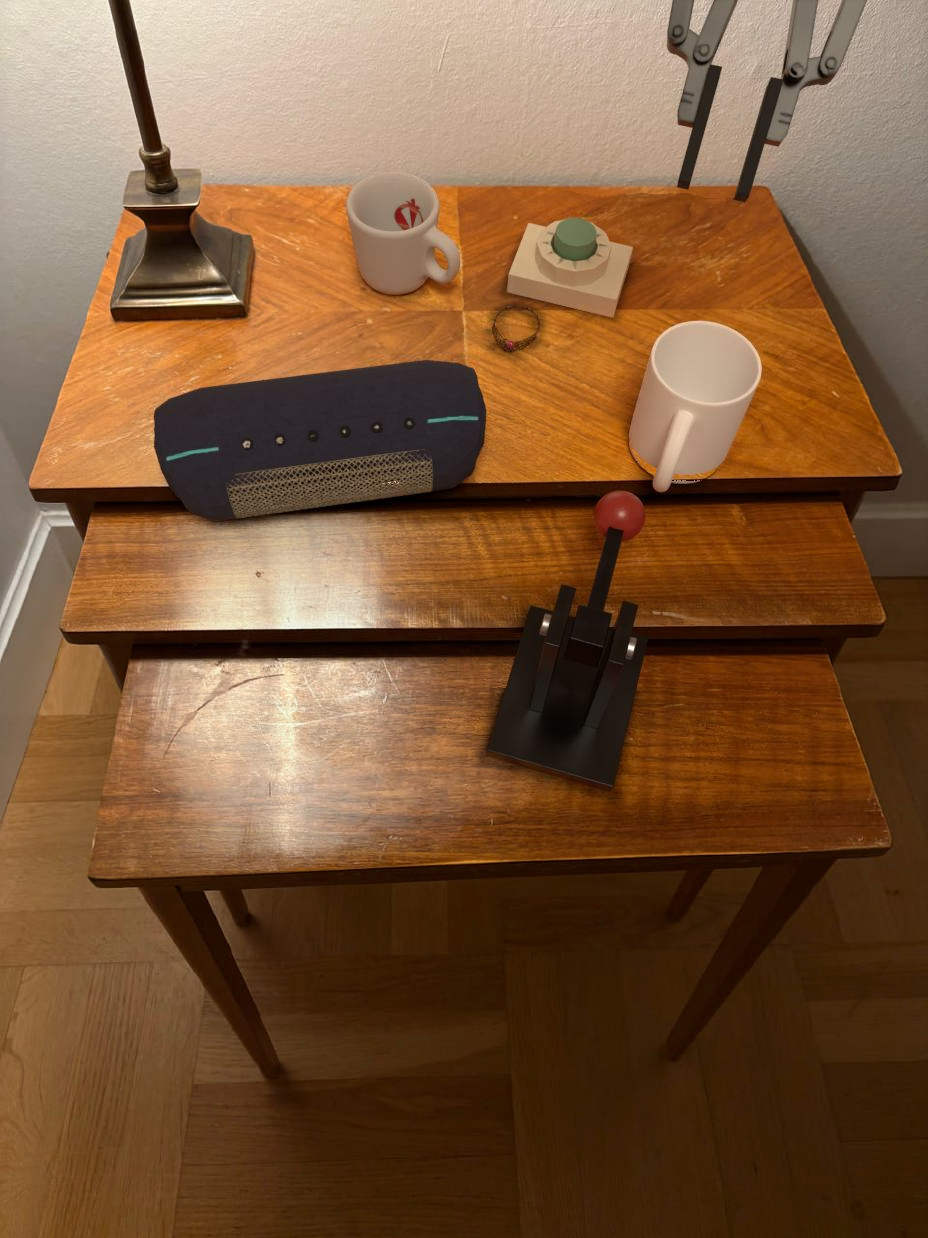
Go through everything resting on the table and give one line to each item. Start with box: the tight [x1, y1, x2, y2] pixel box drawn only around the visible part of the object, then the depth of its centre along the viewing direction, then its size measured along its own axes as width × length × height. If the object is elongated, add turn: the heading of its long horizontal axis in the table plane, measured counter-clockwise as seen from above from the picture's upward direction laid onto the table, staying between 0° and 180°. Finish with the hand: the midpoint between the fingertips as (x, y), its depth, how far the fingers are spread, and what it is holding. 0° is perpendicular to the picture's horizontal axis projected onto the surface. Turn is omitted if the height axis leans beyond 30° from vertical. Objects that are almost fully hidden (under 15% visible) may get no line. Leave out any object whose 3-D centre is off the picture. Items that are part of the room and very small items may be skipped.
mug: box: [628, 320, 763, 493], centre depth 76 cm, size 12×8×10 cm
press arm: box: [564, 490, 646, 668], centre depth 65 cm, size 14×4×4 cm, turn 163°
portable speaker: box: [153, 359, 487, 522], centre depth 75 cm, size 25×10×10 cm, turn 101°
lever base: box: [485, 583, 649, 793], centre depth 66 cm, size 12×9×12 cm
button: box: [554, 217, 597, 262], centre depth 87 cm, size 4×4×2 cm
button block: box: [506, 219, 634, 319], centre depth 89 cm, size 10×7×4 cm
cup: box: [345, 171, 461, 296], centre depth 86 cm, size 11×8×8 cm
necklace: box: [491, 304, 541, 354], centre depth 87 cm, size 4×6×1 cm, turn 166°
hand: (712, 190), depth 61 cm, fingers open, 3 cm apart
